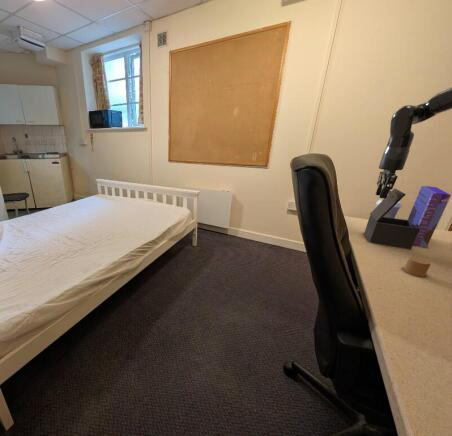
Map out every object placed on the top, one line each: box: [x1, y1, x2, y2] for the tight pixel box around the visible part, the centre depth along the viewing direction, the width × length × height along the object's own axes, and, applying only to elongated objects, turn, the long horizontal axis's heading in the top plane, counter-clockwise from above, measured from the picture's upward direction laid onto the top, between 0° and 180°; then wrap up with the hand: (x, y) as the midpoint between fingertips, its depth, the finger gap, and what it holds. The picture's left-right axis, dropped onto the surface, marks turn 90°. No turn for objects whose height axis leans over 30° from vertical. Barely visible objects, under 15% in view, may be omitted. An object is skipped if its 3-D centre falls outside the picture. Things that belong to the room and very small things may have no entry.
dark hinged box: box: [363, 214, 420, 250], centre depth 101 cm, size 14×12×10 cm
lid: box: [369, 187, 407, 222], centre depth 99 cm, size 14×12×5 cm
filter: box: [403, 256, 432, 277], centre depth 78 cm, size 5×5×5 cm
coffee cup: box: [375, 198, 403, 218], centre depth 114 cm, size 10×10×15 cm
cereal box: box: [407, 185, 452, 249], centre depth 100 cm, size 17×5×24 cm, turn 143°
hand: (380, 196), depth 99 cm, fingers open, 5 cm apart
